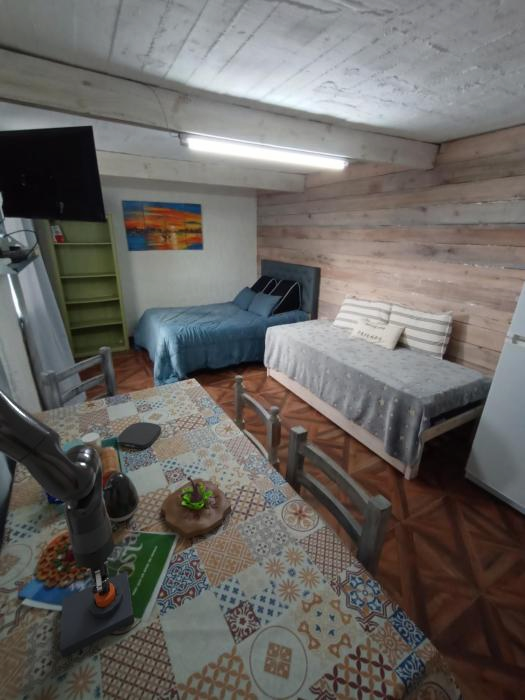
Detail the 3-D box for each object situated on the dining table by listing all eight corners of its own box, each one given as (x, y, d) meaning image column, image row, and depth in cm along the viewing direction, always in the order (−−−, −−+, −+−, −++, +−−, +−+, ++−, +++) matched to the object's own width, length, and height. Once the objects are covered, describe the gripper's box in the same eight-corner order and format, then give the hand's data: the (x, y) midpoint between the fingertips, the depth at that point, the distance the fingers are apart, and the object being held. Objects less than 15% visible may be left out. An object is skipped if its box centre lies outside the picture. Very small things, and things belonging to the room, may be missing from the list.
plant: (188, 550, 88) (186, 520, 84) (152, 510, 100) (148, 482, 96) (241, 508, 101) (240, 480, 98) (203, 477, 114) (202, 451, 110)
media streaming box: (164, 429, 140) (163, 424, 139) (147, 450, 127) (146, 444, 126) (134, 425, 142) (133, 420, 141) (114, 446, 129) (113, 439, 128)
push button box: (62, 658, 65) (58, 645, 63) (64, 606, 74) (60, 593, 72) (134, 622, 71) (132, 609, 70) (128, 577, 80) (126, 565, 79)
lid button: (96, 611, 70) (95, 605, 69) (95, 593, 73) (94, 587, 72) (116, 601, 71) (114, 595, 71) (114, 585, 75) (113, 579, 74)
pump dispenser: (96, 521, 95) (88, 482, 90) (122, 496, 105) (115, 459, 99) (123, 532, 92) (116, 492, 87) (147, 505, 101) (142, 467, 96)
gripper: (71, 518, 69) (85, 572, 75) (70, 572, 58) (86, 630, 64) (109, 505, 72) (119, 558, 79) (114, 554, 62) (126, 611, 68)
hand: (104, 591), depth 71 cm, fingers closed
